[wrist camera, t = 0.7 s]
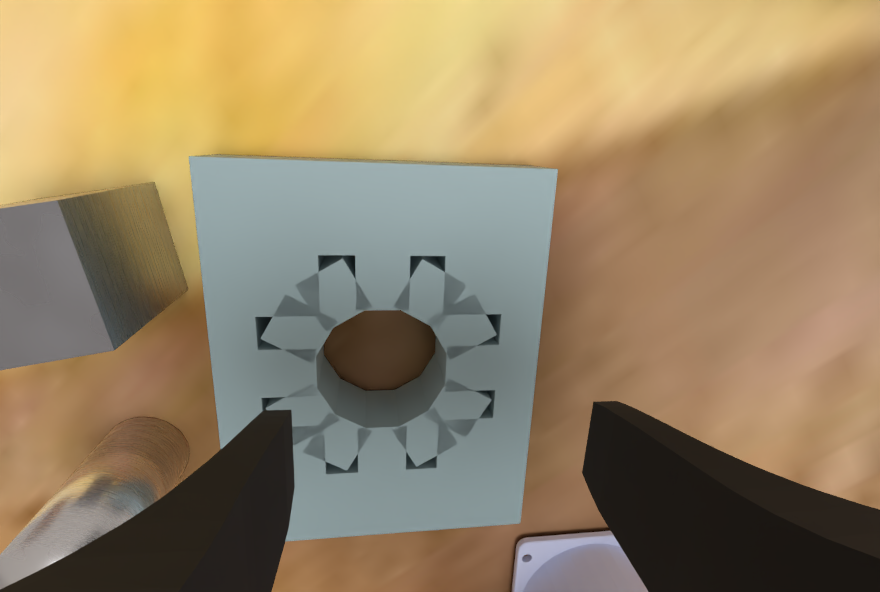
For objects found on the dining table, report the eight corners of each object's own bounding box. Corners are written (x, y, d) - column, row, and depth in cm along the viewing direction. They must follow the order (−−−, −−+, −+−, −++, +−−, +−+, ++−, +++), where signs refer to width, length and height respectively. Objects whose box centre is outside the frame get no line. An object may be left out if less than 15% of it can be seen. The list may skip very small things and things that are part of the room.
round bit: (193, 482, 22) (117, 630, 15) (110, 487, 21) (-5, 642, 15) (184, 415, 21) (99, 542, 14) (97, 418, 20) (-33, 551, 14)
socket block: (502, 478, 24) (520, 523, 21) (248, 494, 22) (231, 545, 19) (530, 165, 20) (557, 169, 17) (216, 154, 18) (188, 156, 15)
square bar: (188, 289, 19) (114, 350, 14) (77, 307, 19) (-48, 378, 13) (154, 181, 18) (57, 200, 12) (34, 199, 18) (-124, 226, 12)
